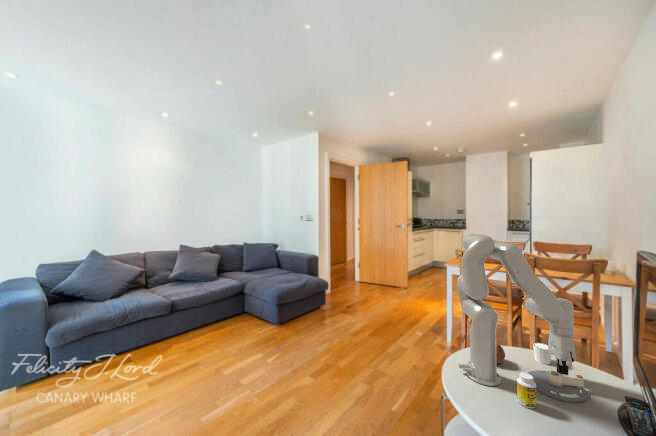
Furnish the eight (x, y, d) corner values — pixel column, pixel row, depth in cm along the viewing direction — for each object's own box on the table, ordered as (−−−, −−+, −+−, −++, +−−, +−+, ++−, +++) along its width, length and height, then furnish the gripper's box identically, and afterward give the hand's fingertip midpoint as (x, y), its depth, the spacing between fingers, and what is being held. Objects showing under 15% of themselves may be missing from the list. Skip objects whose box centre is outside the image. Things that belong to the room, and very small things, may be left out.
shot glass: (556, 365, 117) (555, 350, 117) (538, 364, 119) (538, 349, 119) (546, 357, 124) (546, 343, 124) (530, 356, 125) (529, 342, 125)
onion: (502, 371, 119) (512, 356, 115) (480, 364, 121) (489, 349, 117) (496, 354, 127) (505, 339, 123) (475, 347, 129) (484, 333, 125)
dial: (540, 398, 97) (540, 394, 97) (518, 370, 114) (518, 367, 114) (600, 406, 92) (600, 402, 92) (568, 376, 110) (567, 372, 110)
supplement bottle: (528, 410, 91) (527, 381, 91) (513, 400, 97) (512, 372, 97) (540, 407, 92) (540, 379, 92) (525, 397, 98) (525, 370, 98)
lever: (551, 386, 102) (551, 375, 102) (544, 378, 106) (544, 368, 106) (586, 390, 99) (586, 379, 99) (577, 382, 103) (577, 372, 103)
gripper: (541, 321, 116) (542, 363, 116) (561, 336, 101) (562, 384, 101) (561, 322, 114) (562, 365, 114) (585, 338, 99) (586, 386, 99)
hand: (562, 373), depth 108 cm, fingers closed
